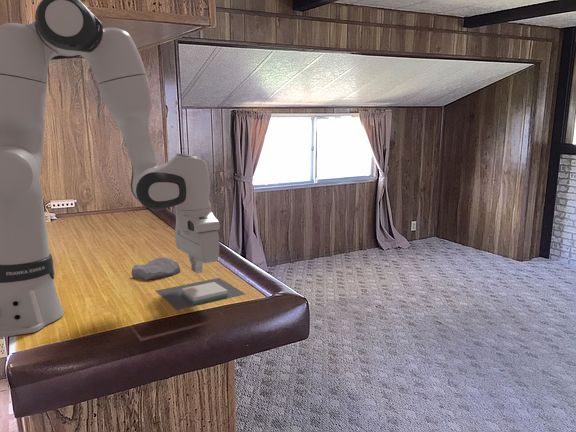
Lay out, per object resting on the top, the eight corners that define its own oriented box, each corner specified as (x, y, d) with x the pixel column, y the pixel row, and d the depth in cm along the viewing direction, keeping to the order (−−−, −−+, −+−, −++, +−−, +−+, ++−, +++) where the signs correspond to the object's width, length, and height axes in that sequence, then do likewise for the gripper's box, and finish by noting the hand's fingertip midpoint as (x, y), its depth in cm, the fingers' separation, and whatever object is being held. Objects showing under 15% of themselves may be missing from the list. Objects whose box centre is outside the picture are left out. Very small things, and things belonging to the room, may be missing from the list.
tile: (181, 294, 119) (193, 304, 113) (181, 288, 119) (193, 297, 112) (214, 287, 124) (227, 296, 118) (214, 281, 124) (227, 290, 117)
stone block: (184, 279, 140) (163, 267, 145) (185, 264, 138) (163, 253, 144) (150, 291, 131) (129, 278, 136) (150, 276, 129) (129, 263, 135)
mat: (177, 312, 110) (177, 309, 109) (155, 292, 123) (155, 290, 123) (246, 296, 119) (245, 293, 119) (219, 279, 132) (218, 277, 132)
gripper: (167, 214, 125) (171, 264, 128) (198, 227, 109) (201, 284, 111) (190, 211, 129) (192, 260, 131) (223, 223, 112) (225, 279, 115)
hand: (197, 271), depth 121 cm, fingers closed
